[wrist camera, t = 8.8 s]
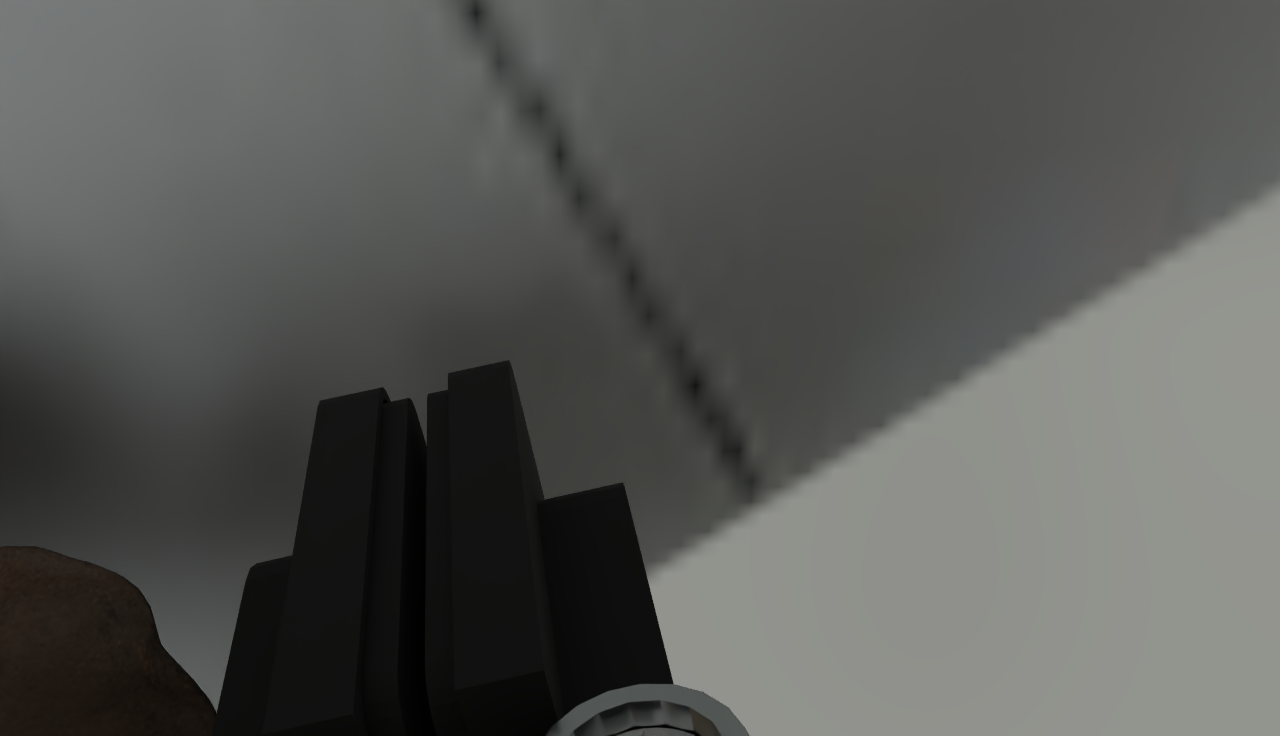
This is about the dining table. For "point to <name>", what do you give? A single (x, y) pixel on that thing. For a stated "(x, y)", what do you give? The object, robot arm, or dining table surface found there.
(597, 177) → the dining table surface
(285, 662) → the robot arm
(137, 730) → the brown wooden sculpture
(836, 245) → the dining table surface
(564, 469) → the dining table surface
